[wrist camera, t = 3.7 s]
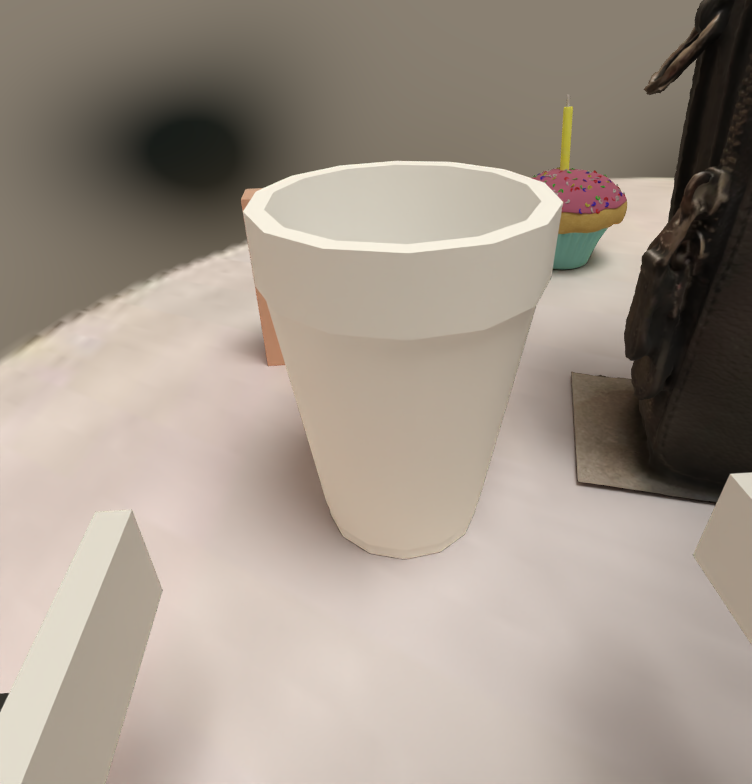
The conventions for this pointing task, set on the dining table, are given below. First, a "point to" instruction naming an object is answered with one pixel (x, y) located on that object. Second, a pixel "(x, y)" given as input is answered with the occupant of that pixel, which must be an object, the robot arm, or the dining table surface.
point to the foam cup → (402, 331)
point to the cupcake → (581, 204)
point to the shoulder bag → (688, 295)
